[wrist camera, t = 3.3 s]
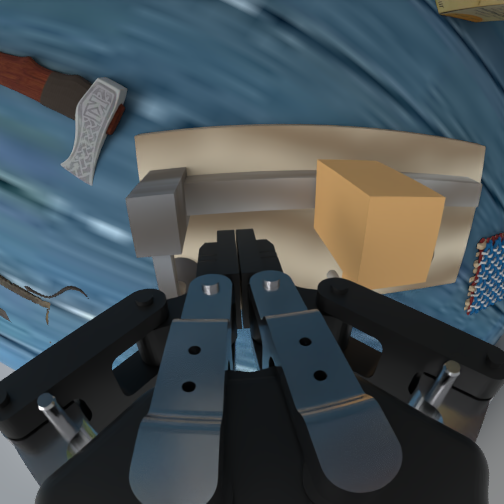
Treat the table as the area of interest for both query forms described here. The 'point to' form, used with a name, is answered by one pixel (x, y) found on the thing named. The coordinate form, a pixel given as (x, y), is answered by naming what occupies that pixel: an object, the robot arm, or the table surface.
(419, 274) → the block
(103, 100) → the hand axe
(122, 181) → the table surface
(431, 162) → the board
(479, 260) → the woven mat
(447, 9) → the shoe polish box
